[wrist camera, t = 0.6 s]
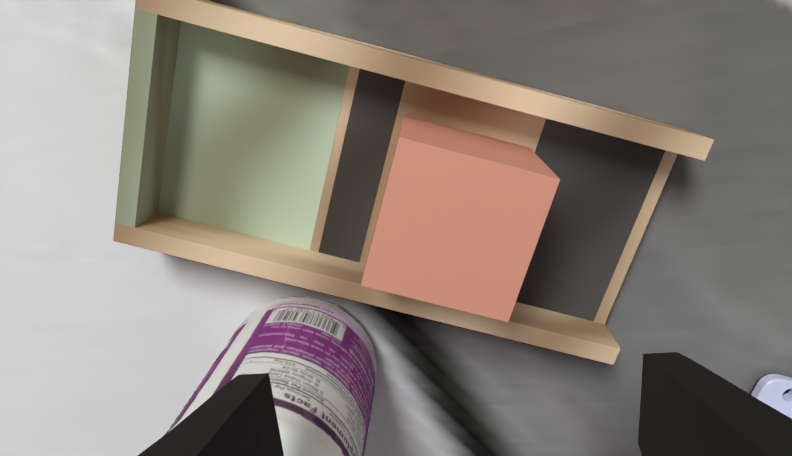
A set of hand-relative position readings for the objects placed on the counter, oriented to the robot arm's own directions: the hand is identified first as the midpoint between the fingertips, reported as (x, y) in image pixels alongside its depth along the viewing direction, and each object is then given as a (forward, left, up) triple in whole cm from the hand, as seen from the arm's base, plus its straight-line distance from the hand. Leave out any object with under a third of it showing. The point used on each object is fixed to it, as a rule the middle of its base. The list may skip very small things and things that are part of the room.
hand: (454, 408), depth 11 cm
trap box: (+2, -2, -9) cm, 9 cm away
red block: (0, -2, -8) cm, 8 cm away
